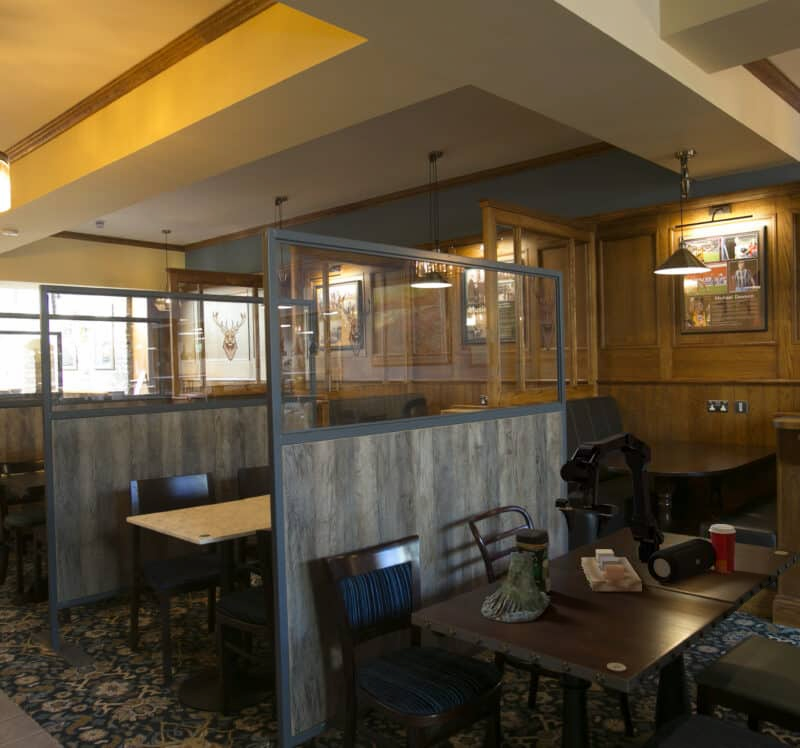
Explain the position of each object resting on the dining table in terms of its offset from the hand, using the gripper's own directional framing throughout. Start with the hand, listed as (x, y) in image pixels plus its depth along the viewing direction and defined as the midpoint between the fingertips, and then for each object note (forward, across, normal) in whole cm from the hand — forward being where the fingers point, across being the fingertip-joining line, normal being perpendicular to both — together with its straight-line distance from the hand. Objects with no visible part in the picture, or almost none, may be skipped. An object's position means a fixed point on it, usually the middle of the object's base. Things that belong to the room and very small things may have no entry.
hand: (584, 535), depth 216 cm
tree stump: (+21, -4, -30) cm, 36 cm away
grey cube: (+12, +4, +11) cm, 16 cm away
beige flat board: (+13, +4, +11) cm, 17 cm away
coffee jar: (+18, -8, -13) cm, 24 cm away
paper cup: (+8, +30, +36) cm, 48 cm away
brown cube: (+13, +9, +3) cm, 16 cm away
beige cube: (+11, -1, +18) cm, 21 cm away
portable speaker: (+10, +22, +24) cm, 34 cm away
